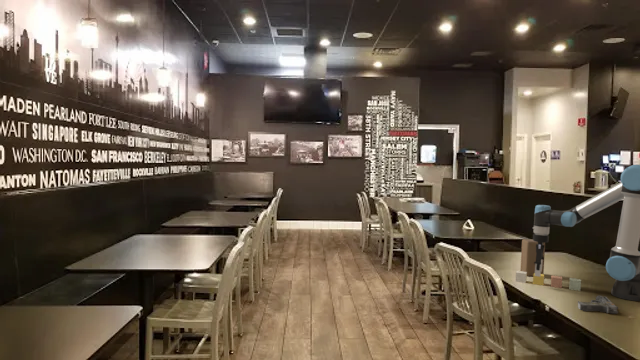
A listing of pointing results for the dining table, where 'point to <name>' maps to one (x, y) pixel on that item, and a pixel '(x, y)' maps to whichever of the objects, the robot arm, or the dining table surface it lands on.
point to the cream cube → (521, 276)
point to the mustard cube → (538, 279)
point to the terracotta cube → (556, 281)
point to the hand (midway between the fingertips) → (538, 273)
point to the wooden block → (529, 256)
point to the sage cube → (575, 284)
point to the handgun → (599, 305)
